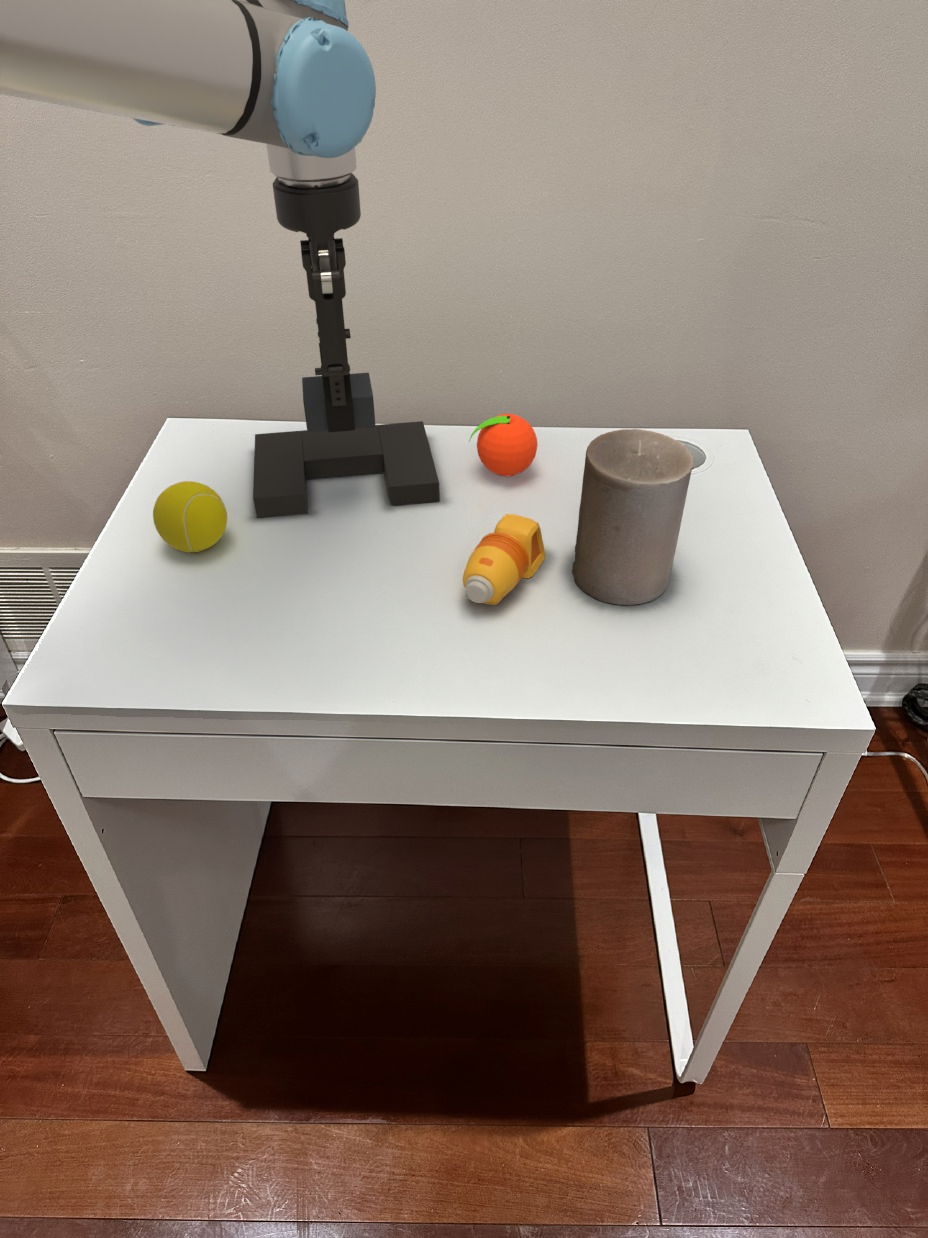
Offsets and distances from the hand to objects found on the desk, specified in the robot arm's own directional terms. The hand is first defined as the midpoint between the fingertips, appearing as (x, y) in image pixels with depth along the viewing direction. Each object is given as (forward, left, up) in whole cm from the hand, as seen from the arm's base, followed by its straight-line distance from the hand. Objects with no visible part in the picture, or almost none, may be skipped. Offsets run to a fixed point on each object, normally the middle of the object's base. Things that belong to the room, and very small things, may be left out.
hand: (339, 414), depth 92 cm
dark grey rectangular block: (0, 0, 0) cm, 0 cm away
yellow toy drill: (+14, -18, -10) cm, 25 cm away
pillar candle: (+26, -19, -10) cm, 34 cm away
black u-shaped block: (0, +4, -10) cm, 10 cm away
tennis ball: (-16, -7, -10) cm, 20 cm away
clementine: (+18, +2, -10) cm, 21 cm away
